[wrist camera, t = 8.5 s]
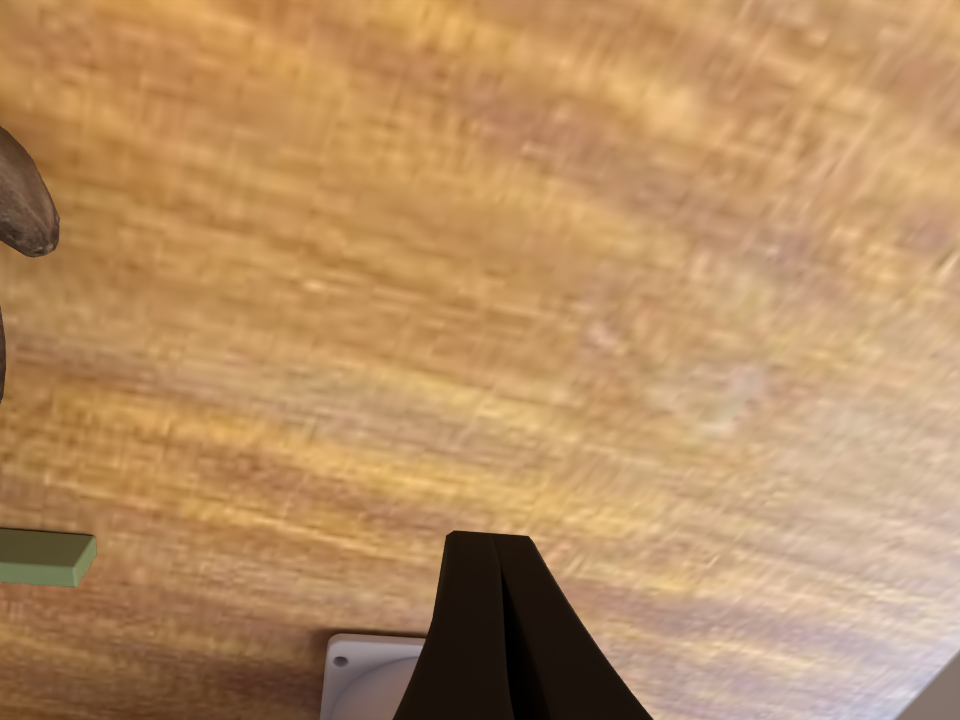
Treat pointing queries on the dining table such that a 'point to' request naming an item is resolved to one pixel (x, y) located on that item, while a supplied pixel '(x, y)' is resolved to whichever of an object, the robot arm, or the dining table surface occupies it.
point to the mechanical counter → (23, 213)
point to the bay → (45, 557)
